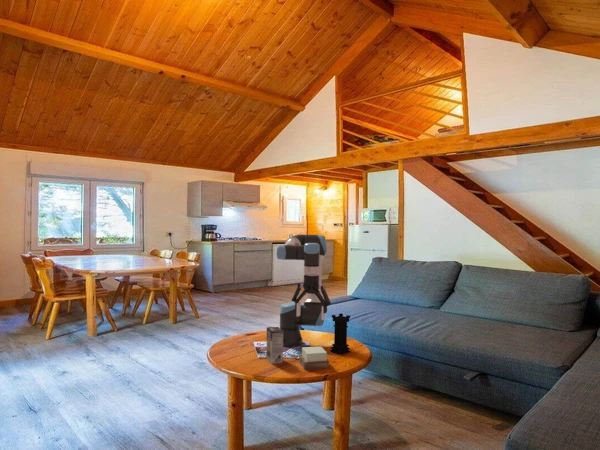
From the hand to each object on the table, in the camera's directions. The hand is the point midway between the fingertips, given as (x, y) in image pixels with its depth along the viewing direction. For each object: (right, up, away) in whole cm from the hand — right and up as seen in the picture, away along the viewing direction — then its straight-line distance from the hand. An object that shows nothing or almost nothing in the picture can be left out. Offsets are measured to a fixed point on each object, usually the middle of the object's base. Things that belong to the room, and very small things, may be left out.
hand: (310, 317), depth 201 cm
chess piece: (+17, -24, +24) cm, 38 cm away
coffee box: (-18, -24, +8) cm, 31 cm away
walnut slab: (+1, -25, +2) cm, 25 cm away
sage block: (+2, -21, +2) cm, 21 cm away
